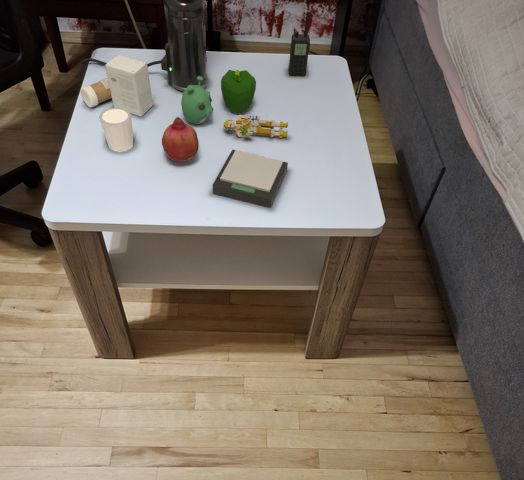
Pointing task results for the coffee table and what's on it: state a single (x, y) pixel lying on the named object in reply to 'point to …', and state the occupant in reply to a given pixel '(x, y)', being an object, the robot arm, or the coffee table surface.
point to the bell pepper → (238, 90)
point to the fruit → (180, 141)
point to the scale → (250, 178)
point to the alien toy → (196, 103)
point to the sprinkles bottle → (96, 93)
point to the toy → (254, 127)
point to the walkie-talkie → (299, 51)
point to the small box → (129, 84)
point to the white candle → (117, 128)
